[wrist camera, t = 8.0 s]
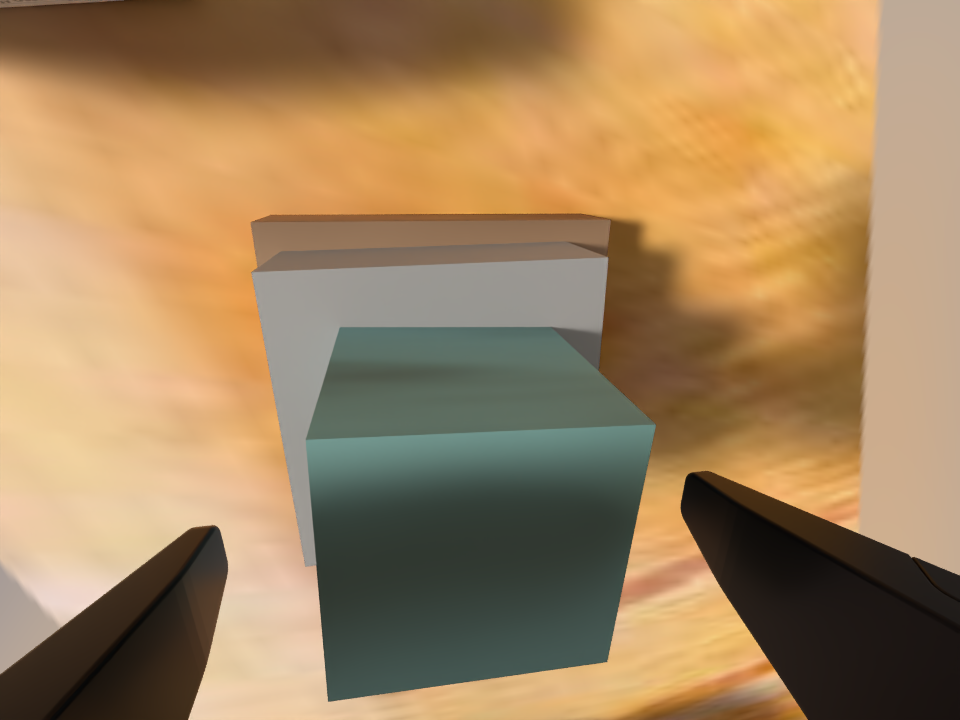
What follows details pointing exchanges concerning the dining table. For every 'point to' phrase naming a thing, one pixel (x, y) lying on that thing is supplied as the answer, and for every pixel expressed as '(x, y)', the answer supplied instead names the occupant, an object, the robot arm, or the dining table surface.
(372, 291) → the grey slab
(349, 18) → the dining table surface
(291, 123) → the dining table surface
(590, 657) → the teal block
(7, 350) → the dining table surface
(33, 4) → the light bulb box
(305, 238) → the walnut slab
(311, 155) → the dining table surface
